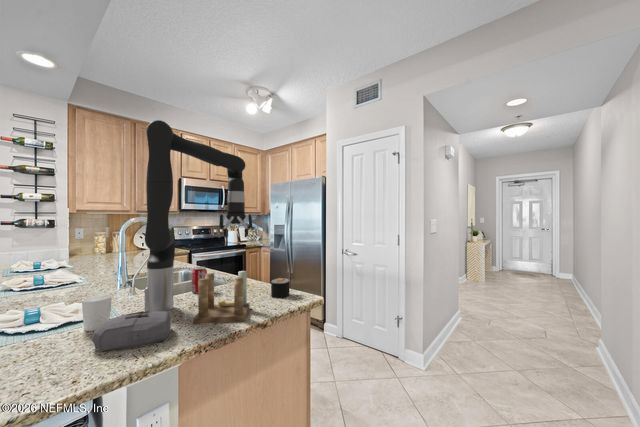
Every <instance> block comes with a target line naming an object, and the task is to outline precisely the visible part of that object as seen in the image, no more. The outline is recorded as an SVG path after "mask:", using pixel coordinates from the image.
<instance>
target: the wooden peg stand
mask: <svg viewBox="0 0 640 427" xmlns="http://www.w3.org/2000/svg"><path fill="white" fill-rule="evenodd" d="M233 280H234V282H233V283H234V285H233V286H234V289H233V290H234V291H233V292H234V293H233V295H234V296H233V300H234V301H233V302H234V305H227V306H219V303H217V304H215V273H213V272H209V273H208V272H207V274H205V278H203V279H199V280H198V293H197V294H198V297H197V298H198V301H197V303H198V313H197V314H196V315H195V316H194V317H193V325H199V324H200V325H201V324H216V323H217V324H218V323H219V324H220V323H221V324H222V323H238V322H246V320H247V316H248V313H249V311H250V307H251V306H250V302H247V304H246V305H243V277H238V276H237V277H234V279H233Z"/></svg>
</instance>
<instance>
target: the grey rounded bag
mask: <svg viewBox="0 0 640 427" xmlns="http://www.w3.org/2000/svg"><path fill="white" fill-rule="evenodd" d="M170 332H171V315H170V313H169V311H151V312H150V311H146V312H145V310H144V311H137V312H131V313H126V314H121V315H119V316H116V317H113V318H110V320H108V321H107V322H105V323H104V324H102V325H101V326H100V327H98V328H97V329H95V330H94V332H93V334H92V336H91V341H92V343H93V345H94V348H95V350H97V351H99V352H103V351H104V352H105V351H123V350H130V349H136V348H140V347H145V346H149V345H153V344H156V343H161V342H163V341H166V340H167V338H168V336H169V334H170Z"/></svg>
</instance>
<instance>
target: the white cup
mask: <svg viewBox="0 0 640 427" xmlns="http://www.w3.org/2000/svg"><path fill="white" fill-rule="evenodd" d="M112 297H113V296H112V295H111V294H98V295H97V294H96V295H91V296H88V297H84V298H83V299H81V307H82V308H81V310H82V319H83V320H82V322H83V329H84V331H85V332H91V331H92V332H93V331H95V329H97V328H98V327H100V326H101V325H102V324H104V323H105V322H107V321H108V320H110V319H111V315H112V314H111V312H112Z"/></svg>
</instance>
